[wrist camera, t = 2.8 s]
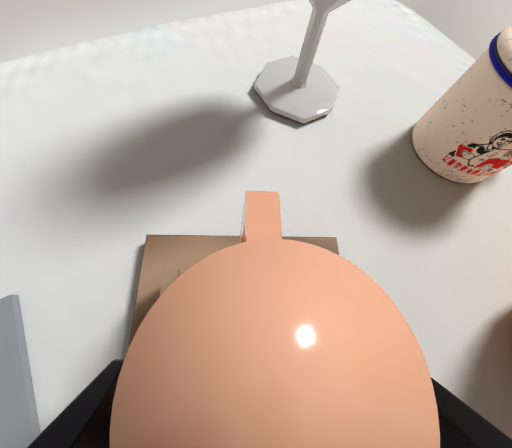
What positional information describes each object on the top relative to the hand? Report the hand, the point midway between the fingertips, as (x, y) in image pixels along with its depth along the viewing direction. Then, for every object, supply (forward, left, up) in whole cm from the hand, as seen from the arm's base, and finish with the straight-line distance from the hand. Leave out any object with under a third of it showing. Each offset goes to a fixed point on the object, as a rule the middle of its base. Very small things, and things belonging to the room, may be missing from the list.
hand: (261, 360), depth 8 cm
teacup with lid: (+6, -28, -8) cm, 30 cm away
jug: (+1, -1, -7) cm, 7 cm away
